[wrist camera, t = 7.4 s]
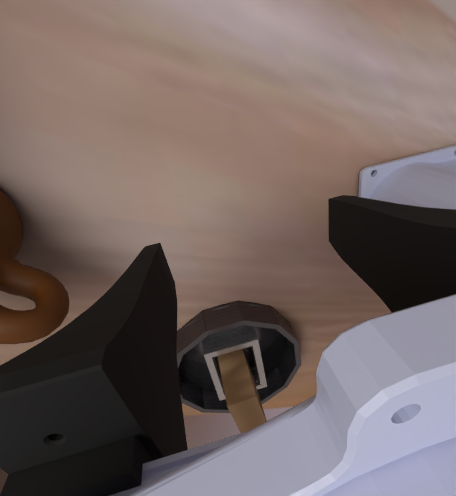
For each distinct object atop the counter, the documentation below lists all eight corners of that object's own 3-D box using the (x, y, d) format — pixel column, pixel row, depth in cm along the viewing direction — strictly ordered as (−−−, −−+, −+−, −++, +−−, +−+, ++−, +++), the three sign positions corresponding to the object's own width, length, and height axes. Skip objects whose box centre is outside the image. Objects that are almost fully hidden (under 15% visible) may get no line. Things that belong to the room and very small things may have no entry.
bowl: (285, 287, 27) (296, 305, 24) (294, 371, 33) (303, 391, 31) (152, 323, 26) (151, 346, 24) (188, 402, 32) (189, 426, 30)
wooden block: (238, 334, 28) (256, 396, 22) (248, 362, 30) (267, 424, 25) (215, 343, 28) (227, 406, 22) (227, 370, 30) (241, 434, 25)
